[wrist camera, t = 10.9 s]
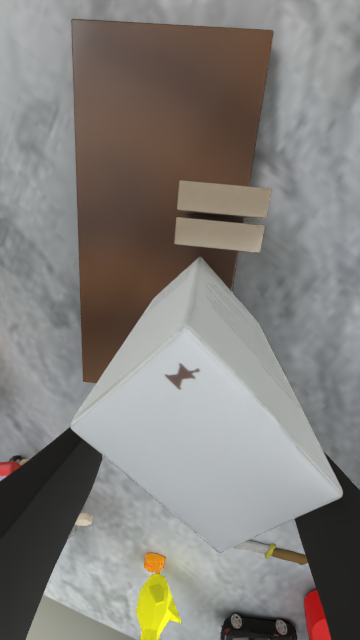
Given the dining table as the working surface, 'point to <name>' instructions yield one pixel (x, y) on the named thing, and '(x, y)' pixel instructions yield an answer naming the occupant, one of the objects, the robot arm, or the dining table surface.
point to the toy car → (256, 629)
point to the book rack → (161, 164)
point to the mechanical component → (315, 617)
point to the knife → (272, 551)
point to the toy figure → (155, 601)
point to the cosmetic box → (207, 416)
